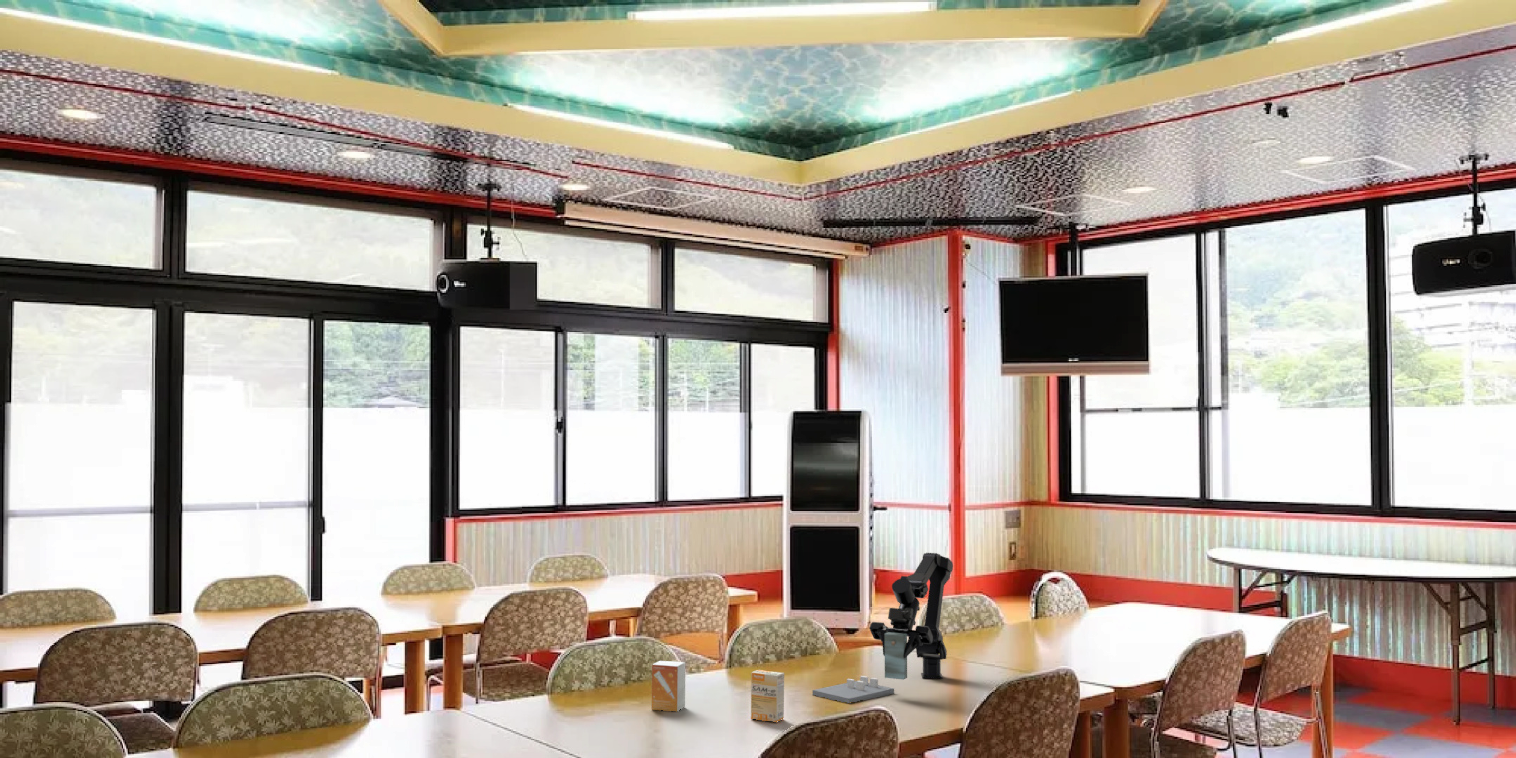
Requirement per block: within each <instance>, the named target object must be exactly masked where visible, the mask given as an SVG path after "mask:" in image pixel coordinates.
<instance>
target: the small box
mask: <svg viewBox="0 0 1516 758" xmlns="http://www.w3.org/2000/svg"><path fill="white" fill-rule="evenodd" d="M651 667H652V668H651V711H661V710H663V711H662V712H671V711H678V712H680V711H681V710H683V709H684V708H683V707H686V662H684V661H673V660H672V661H671V660H668V661H667V660H658V661H656V662H654V663H653V664H651ZM682 708H683V709H682ZM680 709H681V710H680ZM679 710H680V711H679Z"/></svg>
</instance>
